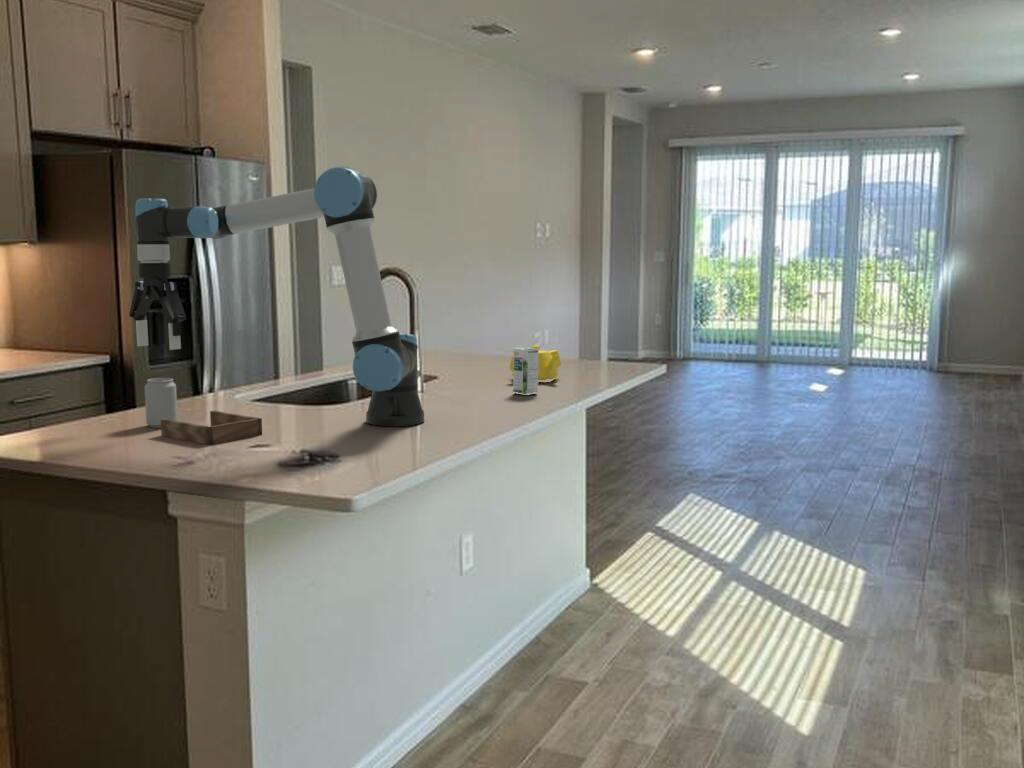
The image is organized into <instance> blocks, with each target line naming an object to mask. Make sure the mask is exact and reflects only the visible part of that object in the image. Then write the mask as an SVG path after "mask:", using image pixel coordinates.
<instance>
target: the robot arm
mask: <svg viewBox="0 0 1024 768" xmlns="http://www.w3.org/2000/svg"><path fill="white" fill-rule="evenodd" d="M377 199H378V190H377V187H376V184H375V183H374V180H373V179H372V178H371V177H370V176H369V175H368V174H367V173H365V172H362V171H359V170H356V169H353V168H350V167H348V166H335V167H332V168H329V169H328V168H327V170H325V171H324V172H322V173H321V175H319V177H318V178H317V180H316V181H315V184H314V187H313V188H309V189H303V190H298V191H293V192H287V193H283V194H277V195H274V196H273V195H272V196H267V197H263V198H258V199H253V200H248V201H241V202H238V203H237V202H236V203H232V204H227V205H222V206H218V207H217V206H216V207H210V206H204V205H203V206H202V205H201V206H200V205H197V206H169V204H168V201H167V199H165V198H150V197H149V198H146V197H145V198H138V199H137V200H136V201H135V213H134V214H135V216H134V219H135V224H136V225H135V226H136V239H137V241H136V248H137V249H136V250H137V260H138V262H139V261H140V262H139V263H138V264H137V266H138V277H139V278H140V279H143V280H138V281H137V280H136V281H135V282H134V293H133V296H132V301H131V305H130V309H129V315H128V316H129V318H132V319H133V321H135V322H134V324H135V332H136V347H145V346H146V347H147V346H149V332H148V318H147V317H146V316H147V315H148V312H149V310H150V308H151V305H152V303H153V302H154V301H157V302H159V303H160V305H161V307H162V308H163V311H164V312H165V314H166V315H167V317H168V319H169V320H168V324H167V325H168V339H169V341H168V342H169V343H168V344H169V350H170V351H173V350H181V349H182V343H181V335H182V329H181V323H182V321H186V320H187V316H186V313H185V309H184V307H183V303H182V301H181V298H180V295H179V291H178V286H177V282H176V281H168V279H170V278H171V276H172V269H171V268H172V267H171V264H170V262H168V261H170V260H171V256H170V253H171V252H170V238H171V239H172V238H173V239H175V238H180V239H181V238H183V239H186V238H187V239H189V238H190V239H194V238H195V239H213V240H214V239H215V240H218V239H223V238H226V237H228V236H233V235H236V234H242V233H247V232H253V231H257V230H258V231H259V230H263V229H268V228H274V227H280V226H284V225H289V224H294V223H301V222H304V221H311V220H316V219H321V218H322V219H323V218H324V222H325V226H326V230H328V231H329V232H331V234H333V235H334V237H335V241H336V246H337V247H336V248H337V251H338V255H339V256H338V257H339V260H340V265H341V268H342V269H341V270H342V272H343V273H342V274H343V278H344V283H345V286H346V291H347V295H348V301H349V306H350V310H351V314H352V319H353V324H354V328H355V335H354V336H353V337H352V339H351V342H352V346H353V353H354V355H355V356H354V357H353V361H352V371H353V372H352V373H353V375H354V377H355V379H356V381H357V382H358V383H359V384H360V386H362V387H363V388H365V389H367V390H369V391H370V392H371V391H372V393H371V396H370V401H369V404H368V409H367V411H366V412H365V421H366V422H367V423H366V424H368V423H369V425H371V424H372V426H376V425H377V427H409V426H408V425H410V426H415V424H416V425H420V424H423V423H424V422H425V412H424V410H423V408H422V404H421V399H420V397H419V392H418V349H419V345H418V339H417V336H415V335H414V334H411V333H400V331H399V329H397V328H396V327H394V326H393V325H392V324H391V318H390V314H389V313H390V312H389V309H388V304H387V301H386V295H385V291H384V286H383V282H382V278H381V272H380V268H379V263H378V259H377V254H376V250H375V249H376V248H375V246H374V242H373V241H374V240H373V236H372V232H371V226H372V225H373V223H374V222H375V216H374V215H375V214H374V211H373V209H374V207H375V205H376V203H377ZM422 422H423V423H422ZM419 423H420V424H419Z"/></svg>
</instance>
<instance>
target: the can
mask: <svg viewBox="0 0 1024 768" xmlns="http://www.w3.org/2000/svg"><path fill="white" fill-rule="evenodd" d="M146 381H147V383H146V384H145V385H144V401H145V402H144V403H145V404H144V405H145V420H146V421H145V422H146V425H148V426H149V428H154V429H161V419H171V420H176V421H179V420H178V402H177V401H178V400H177V399H178V398H177V396H178V395H177V385H176V383H175V382H174V379H173V378H172V377H171V378H170V377H156V378H155V377H154V378H149V379H146Z"/></svg>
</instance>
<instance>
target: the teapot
mask: <svg viewBox="0 0 1024 768" xmlns="http://www.w3.org/2000/svg"><path fill="white" fill-rule="evenodd" d="M530 348H535V349H538V380H546V379H553V378H556V377H557V378H558V376H559V373H558V369H559V367H560V366H561V364H562V363H561V359H560V355H559V352H558V350H557V349H552V350H540V346H539V345H531V346H530ZM513 360H514V350H512V355H511V359H510V363H509V367H508V368H509V370H510V371H511V372H512V373H511V374H512V376H513ZM557 378H556V379H557Z"/></svg>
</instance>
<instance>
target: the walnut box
mask: <svg viewBox="0 0 1024 768" xmlns="http://www.w3.org/2000/svg"><path fill="white" fill-rule="evenodd" d="M209 416H210V417H209V418H210V419H209V420H210V426H208V425H203V424H197V423H193V422H192V423H191V422H188V421H187V422H185V421H181V420H178V421H176V420H171V419H161V428H160V435H161V436H163V437H167V438H171V439H176V440H181V441H182V440H183V441H187V442H191V443H196V444H201V445H207V446H211V445H217V444H223V443H226V442H231V441H237V440H242V439H247V438H253V437H256V436H262V435H263V425H262V424H263V422H262V420H263V419H262V418H261V417H256V416H255V417H254V416H248V415H243V414H237V413H231V412H225V411H219V410H210V411H209Z"/></svg>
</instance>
